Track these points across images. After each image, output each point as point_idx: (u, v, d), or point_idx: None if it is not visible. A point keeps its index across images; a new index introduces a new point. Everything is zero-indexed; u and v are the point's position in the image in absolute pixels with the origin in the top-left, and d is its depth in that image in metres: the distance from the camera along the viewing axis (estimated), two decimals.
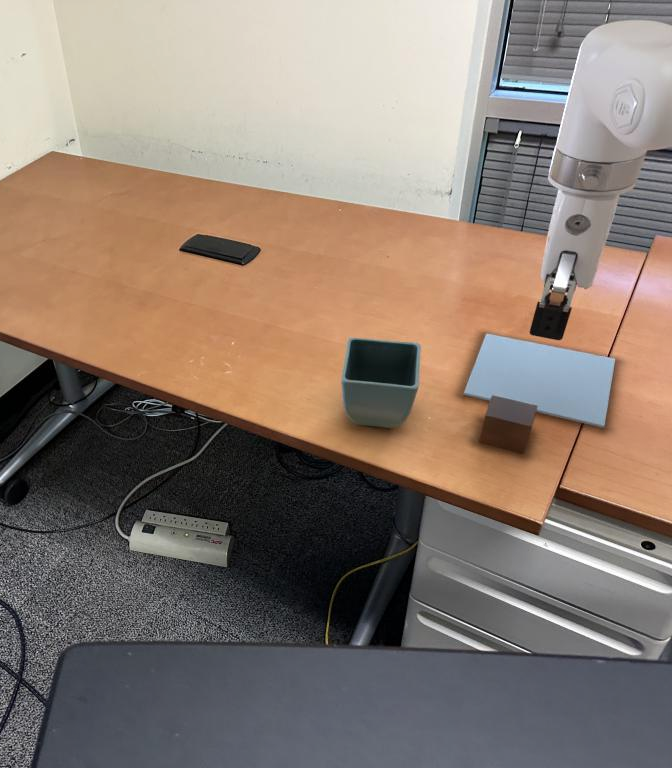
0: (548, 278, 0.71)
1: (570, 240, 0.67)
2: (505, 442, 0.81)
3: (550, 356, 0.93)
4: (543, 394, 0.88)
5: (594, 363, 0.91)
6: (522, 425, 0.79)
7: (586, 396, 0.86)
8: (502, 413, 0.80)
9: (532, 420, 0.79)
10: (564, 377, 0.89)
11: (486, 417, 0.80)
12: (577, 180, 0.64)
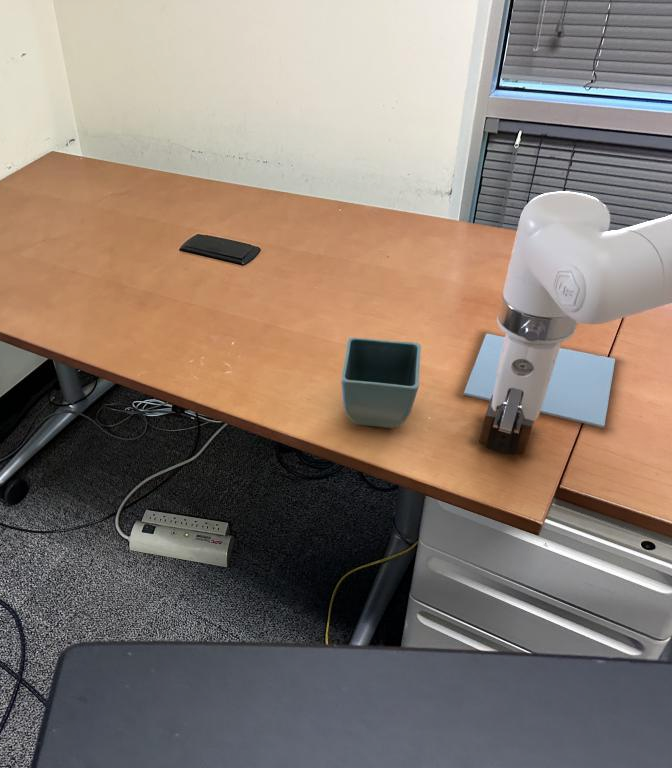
0: (499, 407, 0.77)
1: (516, 380, 0.72)
2: None
3: None
4: None
5: (594, 363, 0.91)
6: (522, 425, 0.79)
7: (586, 396, 0.86)
8: (502, 413, 0.80)
9: None
10: (564, 377, 0.89)
11: (486, 417, 0.80)
12: (521, 329, 0.70)
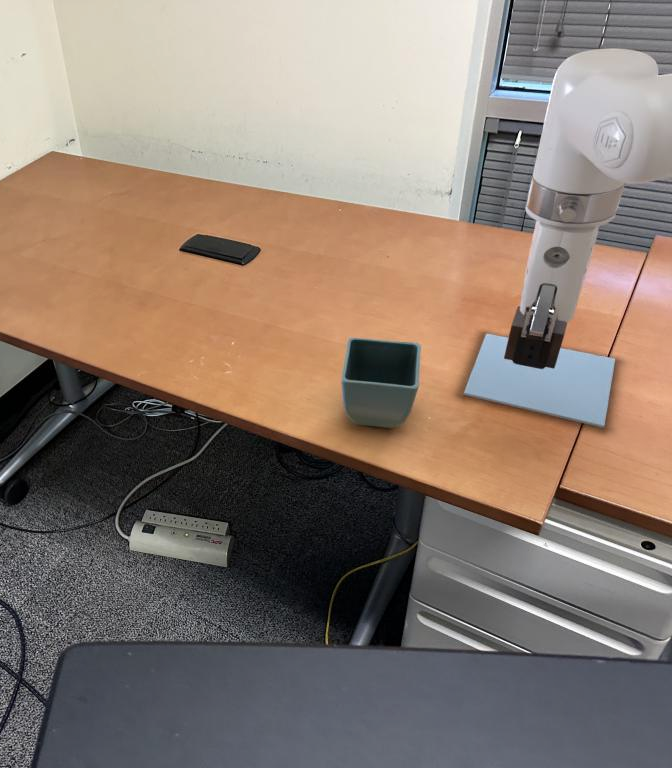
0: (528, 312, 0.70)
1: (549, 273, 0.64)
2: None
3: None
4: (543, 394, 0.88)
5: (594, 363, 0.91)
6: (553, 334, 0.71)
7: (586, 396, 0.86)
8: None
9: (564, 328, 0.71)
10: (564, 377, 0.89)
11: (512, 328, 0.73)
12: (555, 212, 0.62)
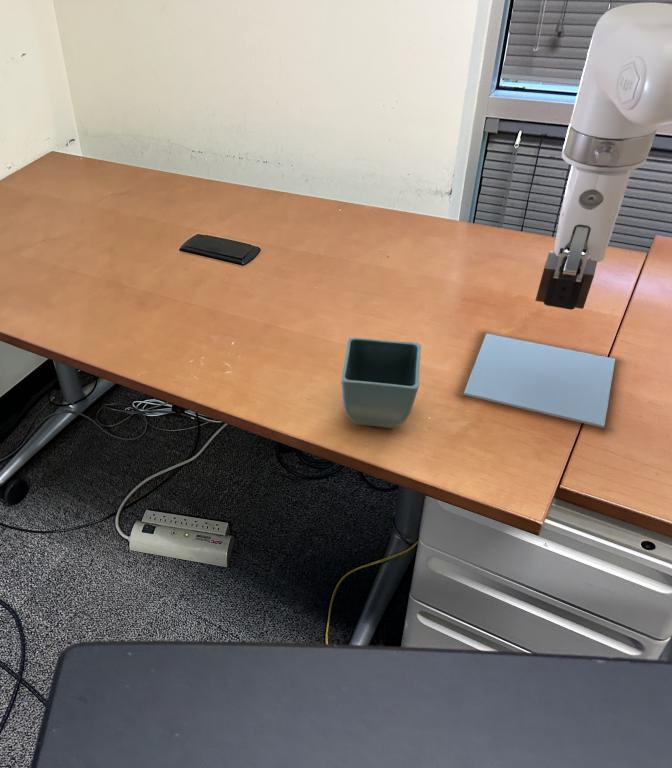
0: (561, 254, 0.75)
1: (583, 214, 0.70)
2: None
3: (550, 356, 0.93)
4: (543, 394, 0.88)
5: (594, 363, 0.91)
6: (583, 275, 0.76)
7: (586, 396, 0.86)
8: None
9: (593, 270, 0.77)
10: (564, 377, 0.89)
11: (545, 270, 0.78)
12: (591, 156, 0.67)
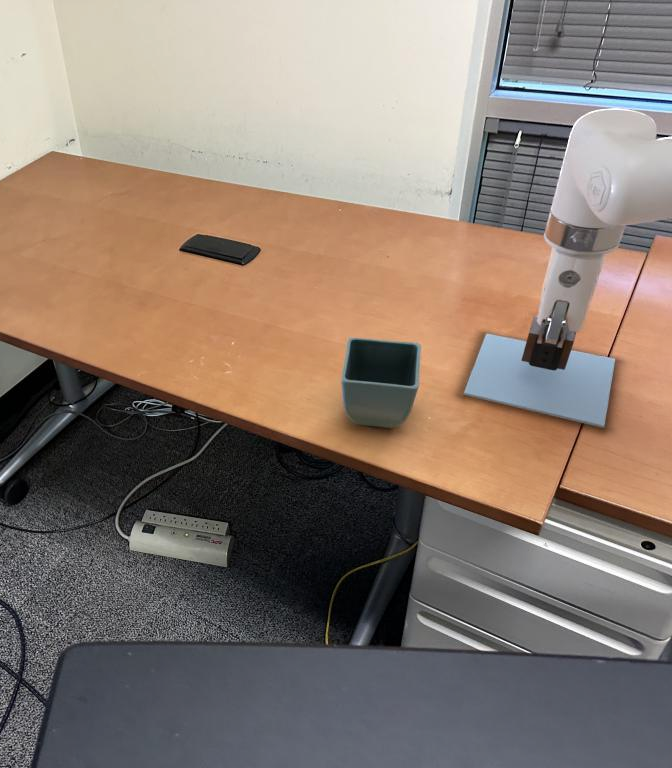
0: (544, 323, 0.82)
1: (563, 291, 0.77)
2: None
3: None
4: (543, 394, 0.88)
5: (594, 363, 0.91)
6: (564, 340, 0.84)
7: (586, 396, 0.86)
8: (545, 331, 0.85)
9: (574, 336, 0.84)
10: (564, 377, 0.89)
11: (529, 335, 0.85)
12: (569, 241, 0.75)
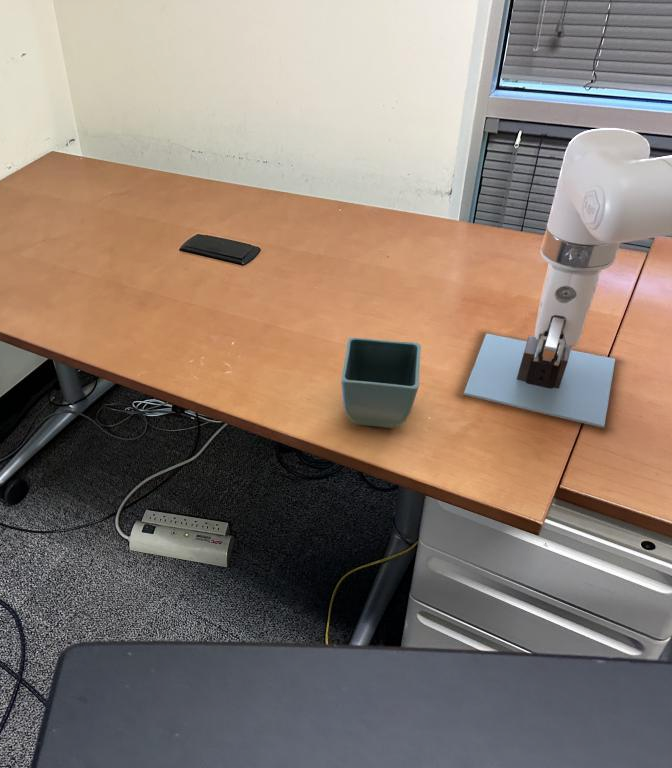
0: (541, 336, 0.82)
1: (559, 307, 0.78)
2: None
3: None
4: (543, 394, 0.88)
5: (594, 363, 0.91)
6: None
7: (586, 396, 0.86)
8: None
9: (567, 356, 0.86)
10: (564, 377, 0.89)
11: (524, 354, 0.87)
12: (565, 258, 0.76)
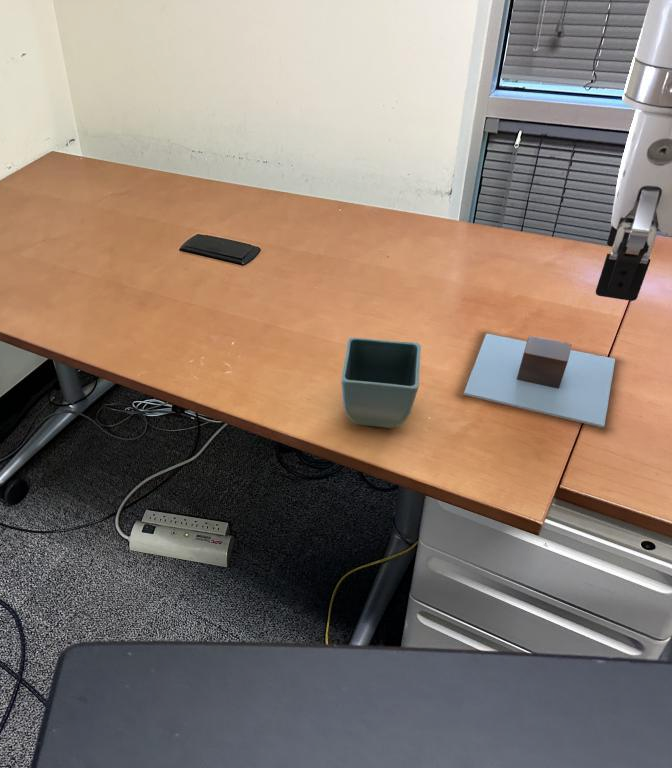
0: (621, 223, 0.58)
1: (653, 172, 0.55)
2: (541, 378, 0.88)
3: None
4: (543, 394, 0.88)
5: (594, 363, 0.91)
6: (558, 360, 0.86)
7: (586, 396, 0.86)
8: (539, 351, 0.87)
9: (567, 356, 0.86)
10: (564, 377, 0.89)
11: (524, 354, 0.87)
12: (664, 95, 0.52)
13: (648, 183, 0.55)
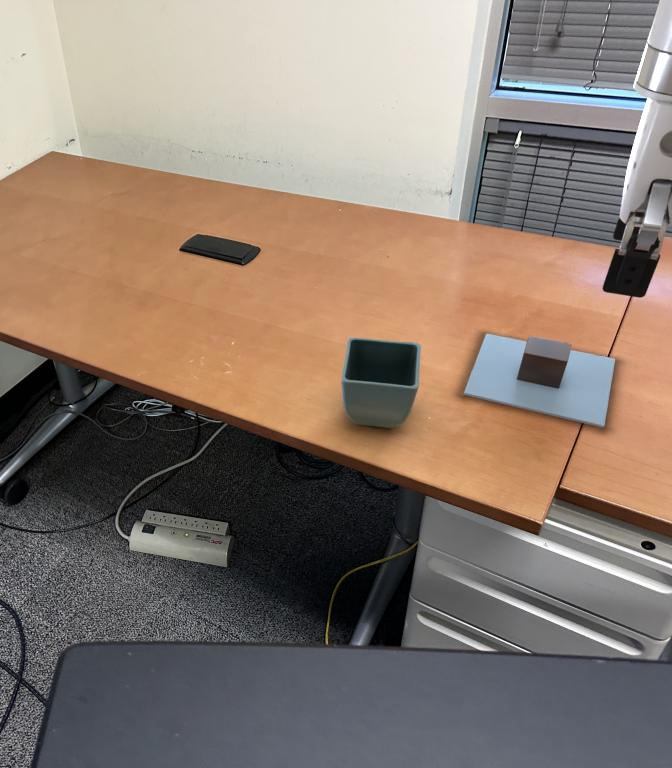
0: (631, 217, 0.56)
1: (665, 164, 0.52)
2: (541, 378, 0.88)
3: None
4: (543, 394, 0.88)
5: (594, 363, 0.91)
6: (558, 360, 0.86)
7: (586, 396, 0.86)
8: (539, 351, 0.87)
9: (567, 356, 0.86)
10: (564, 377, 0.89)
11: (524, 354, 0.87)
12: None
13: (660, 176, 0.53)
